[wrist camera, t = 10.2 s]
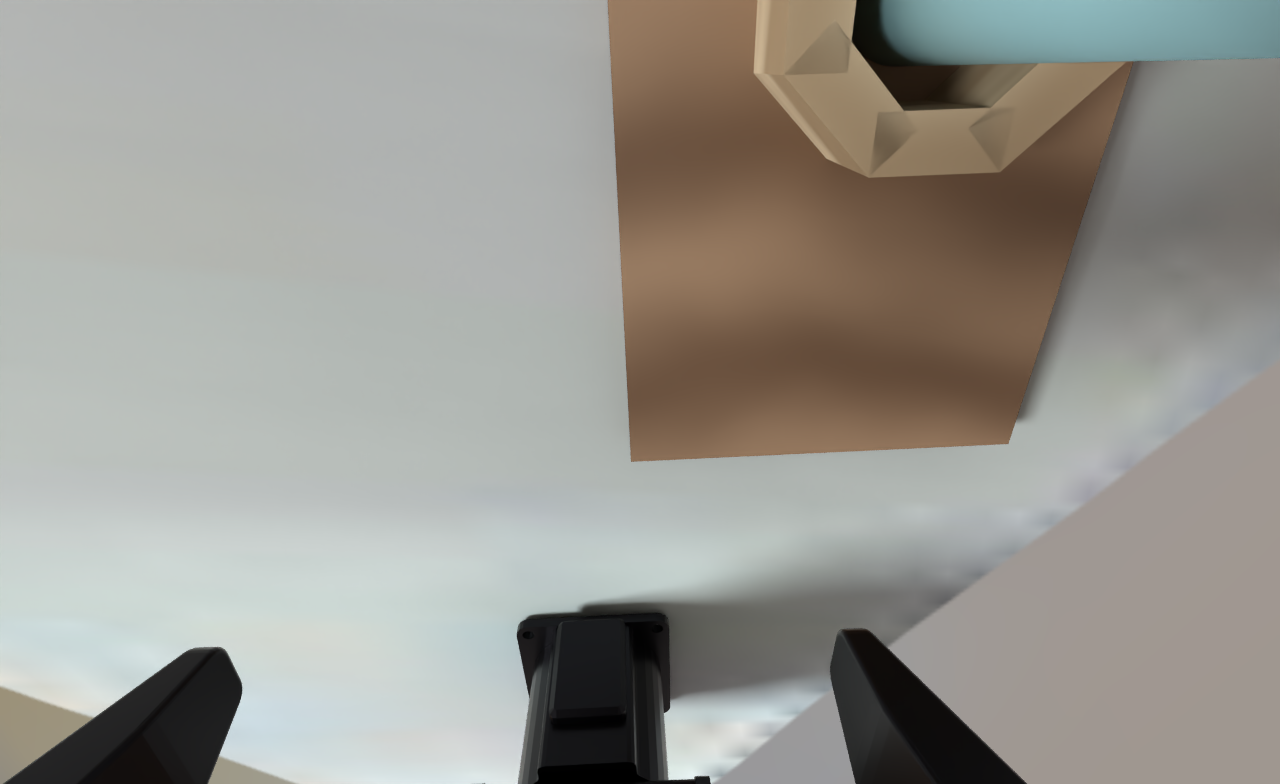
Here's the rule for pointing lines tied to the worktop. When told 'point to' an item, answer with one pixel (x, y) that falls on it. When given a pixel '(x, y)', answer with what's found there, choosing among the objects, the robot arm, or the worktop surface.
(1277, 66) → the worktop surface
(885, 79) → the board
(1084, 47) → the dowel
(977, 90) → the bead
